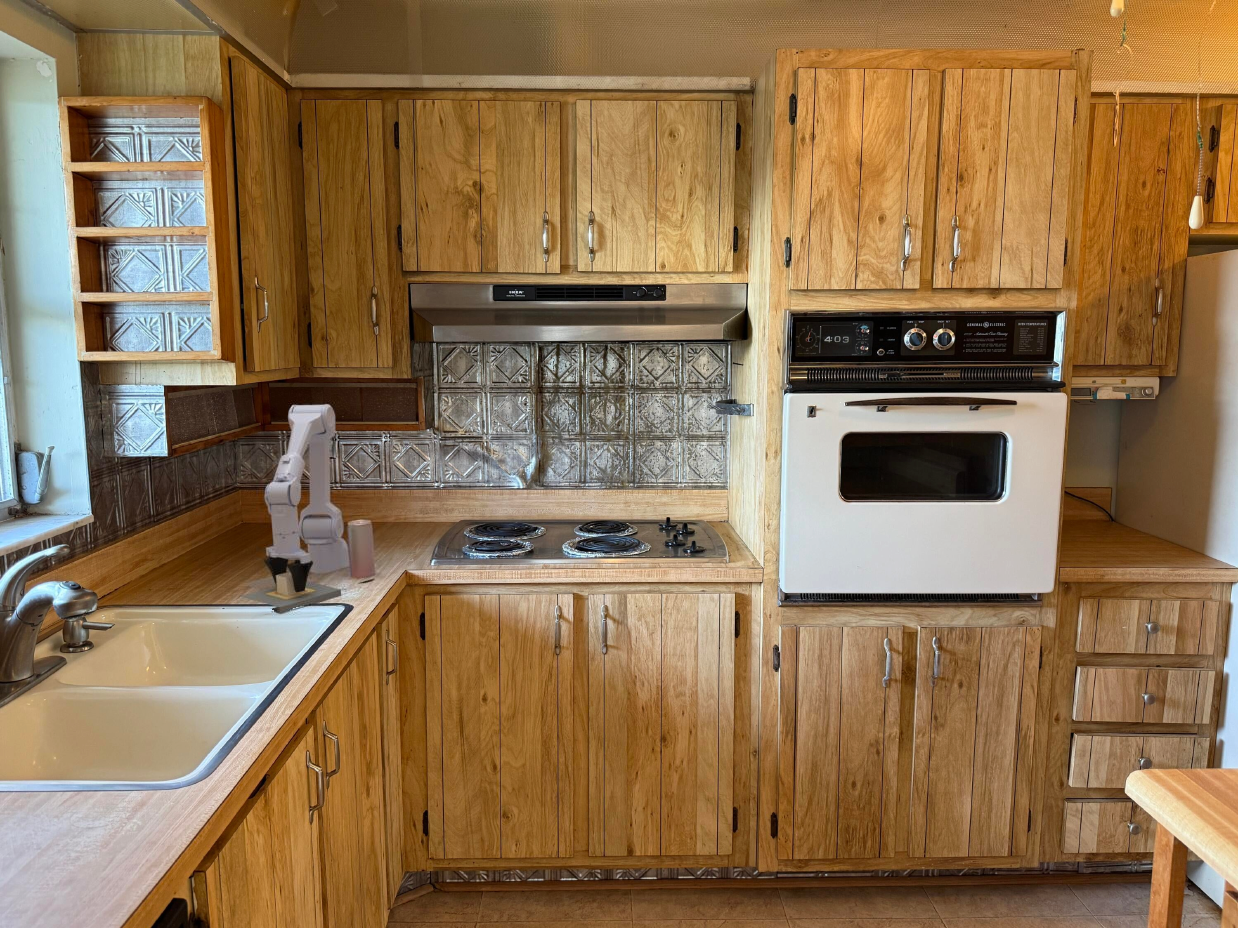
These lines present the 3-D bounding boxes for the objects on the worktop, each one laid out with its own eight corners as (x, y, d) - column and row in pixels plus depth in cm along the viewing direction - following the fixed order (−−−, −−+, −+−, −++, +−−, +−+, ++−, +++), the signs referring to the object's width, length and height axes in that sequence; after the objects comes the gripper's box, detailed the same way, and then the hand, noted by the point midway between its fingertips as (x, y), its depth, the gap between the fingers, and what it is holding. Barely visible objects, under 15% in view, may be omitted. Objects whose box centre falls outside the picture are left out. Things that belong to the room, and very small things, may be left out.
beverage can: (346, 580, 218) (342, 522, 216) (368, 575, 222) (364, 518, 220) (358, 585, 214) (354, 525, 211) (380, 580, 218) (376, 521, 216)
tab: (272, 581, 219) (272, 576, 218) (291, 586, 214) (291, 580, 214) (243, 589, 212) (242, 583, 212) (261, 594, 207) (261, 588, 207)
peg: (293, 595, 206) (291, 571, 206) (303, 598, 204) (301, 573, 203) (278, 600, 203) (276, 575, 202) (288, 602, 201) (285, 577, 200)
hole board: (301, 585, 215) (300, 578, 215) (341, 595, 206) (340, 588, 205) (240, 602, 202) (240, 595, 202) (280, 613, 193) (280, 606, 193)
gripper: (252, 532, 202) (257, 588, 205) (288, 539, 194) (293, 598, 196) (279, 526, 208) (284, 581, 210) (316, 533, 200) (320, 590, 202)
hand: (290, 588), depth 203 cm, fingers open, 7 cm apart
